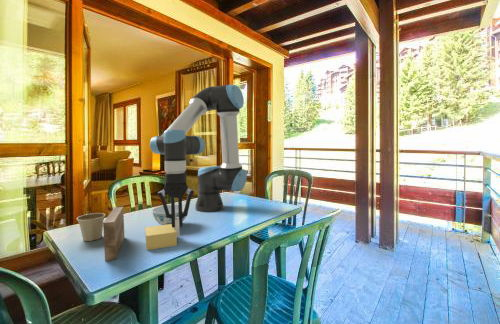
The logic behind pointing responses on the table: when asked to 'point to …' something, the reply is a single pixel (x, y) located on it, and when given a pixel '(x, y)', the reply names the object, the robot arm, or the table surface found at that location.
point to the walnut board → (113, 233)
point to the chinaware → (161, 216)
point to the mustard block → (160, 236)
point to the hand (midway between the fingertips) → (177, 235)
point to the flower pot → (91, 226)
